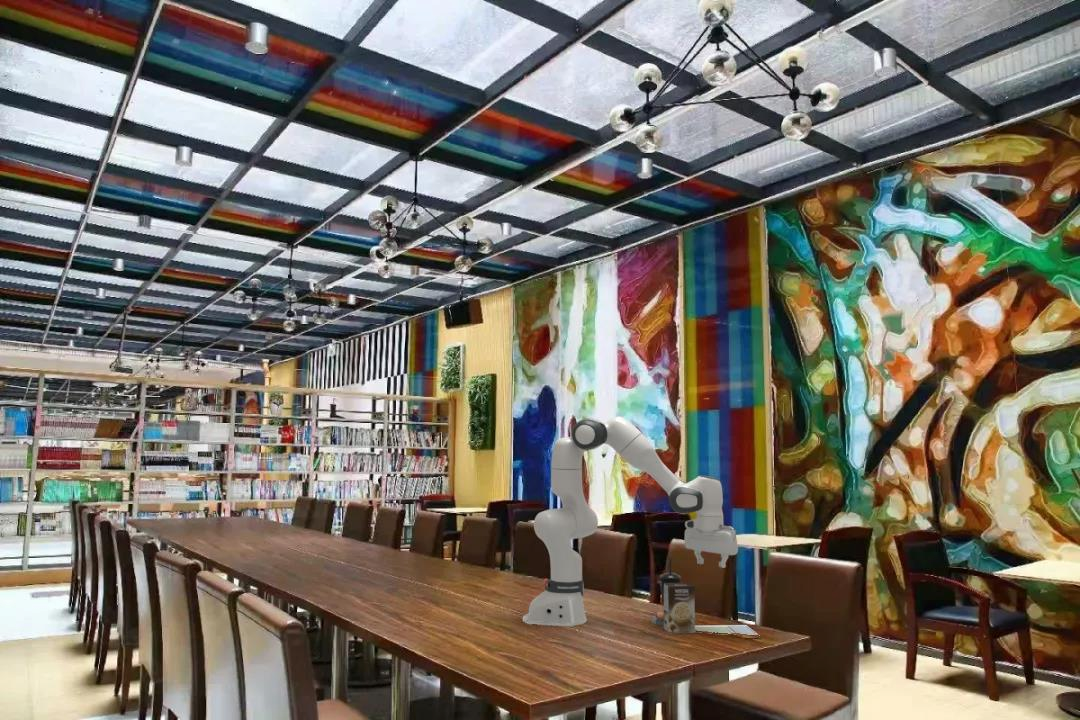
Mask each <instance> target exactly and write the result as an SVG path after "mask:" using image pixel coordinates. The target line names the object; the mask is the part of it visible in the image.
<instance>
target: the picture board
mask: <svg viewBox="0 0 1080 720" xmlns="http://www.w3.org/2000/svg"><path fill="white" fill-rule="evenodd" d="M695 630H697V631H708V632H712V633H713V632H715V633H717V632H718V633H728V634H731V633H740V634H747V635H759V634H758V633H757V632H756V631H755V630H753V629H752V628H750V627H749V626H748V624H727V625H726V624H725V625H724V624H718V625H716V624H715V625H713V624H712V625H707V624H705V625H699V624H698V625H696V624H695ZM712 633H711V634H712ZM728 634H727V635H728Z"/></svg>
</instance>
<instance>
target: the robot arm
mask: <svg viewBox="0 0 1080 720" xmlns="http://www.w3.org/2000/svg"><path fill="white" fill-rule="evenodd" d="M602 445H608V446H610V448H612V449H613V451H615V452H616V453H617V454H618V455H619V457H621V458H622V460H624V461H625V462H626V463H627V464H629V465H630V466H631V467H633V468H634V469H637V470H640V471H643V472H645V473H646V474H647V475H649V476H651V478H652V479H654V480H655V482H656V483H658V485H659V487H661V488H662V489H663V490H664V491H665V492H666V494H667V495H668V502H669V503H668V504H669V506H670V508H671V509H672V510H673V511H674V512H676V513H677V514H681V515H687V514H690V513H696V517H695V518H692V519H690V520H686V521H685V523H684V526H685V528H686V529H685V530H684V547H685V548H686V550H692V551H694V552H693V553H694V555H695V558H696V562H697V564H699V565H704V563H705V562H704V561H705V558H703V556H702V555H701V553H702V552H706V553H713V554H720V558H721V561H718V567H719V568H722V569H724V568H726V567H727V565H726V562H727V560H728V559H729V556H735V555H737V554H738V552H739V545H738V539H737V531H736V529H734V528H733V526H732V525H728V526H727V525H724V513H723V512H724V511H723V503H724V499H723V498H724V497H723V496H724V495H723V487H722V483H721V481H720V480H719V479H718V478H716V477H713V476H709V475H704V474H703V475H702V474H700V475H698V476H697V477H696V478H694V479H692V480H691V481H687V482H684V481H682V480H680V479H679V478H678V477H677V476H676V475H675V474H674V473H673V472H672V471H671V469H670V468H668V467H667V466H666V465H665V463H663V461H662V459H661V458H660V457H659V455H658V453H657V452H656V450H655V448H654V447H653V446H652V444H651V442H650V441H649V439H647V437H646V436H645V434H643V433H642V432H641V431H640V430H639V429H638V428H637V427H636V426H635V425H634V424H633V423H632V422H630V421H629V420H627V419H626V418H625V417H624V416H619V415H618V416H614V417H611V418H610V419H609V420H608V421H607V422H605V423H603V422H601V421H600V420H598V419H594V418H590V417H589V418H584V419H581V420H579V421H577V422H576V423H575V425H574V426H573V427H572V430H571V436H567V437H566V436H564V437H560V438H558V439H557V440H556V441H555V442H554V444H553V449H552V453H551V463H550V481H551V482H550V488H551V489H550V490H551V492H552V493H553V494H554V495H555V496H557V497H558V498H559V499H560V501H561V505H562V507H560V508H550V509H546V510H544V511H541V512H538V513H537V514H536V516H535V518H534V521H533V529H534V532H535V535H536V536H537V538H539V539H540V540H541V541H542V542H543V543H544V545H545V547H546V549H547V551H548V554H549V561H550V564H549V565H550V578H549V579H548V578H544V579H543V585H544V591H543V592H541V593H539V594H538V595H537V596H536V597H534V599H532V601H531V602H530V604H529V607H528V613H526V614H524V615H523V616H522V622H523V623H524V622H525V624H526V623H527V624H526V625H532V624H537V625H536V626H551V625H552V627H553V626H556V627H573V626H578V625H583V624H585V623H587V622H588V620H587V616H586V612H585V606H584V598H583V597H584V593H585V591H584V590H585V589H584V586H585V585H584V584H585V583H584V579H583V558H582V556H581V554H579V552H577V551H575V550H574V549H573V547H572V543H571V542H572V541H571V540H574V539H582V538H586V537H589V536H592V535H593V534H594V533H596V531H597V529H598V526H599V519H598V515H597V513H596V512H595V510H594V509H592V508H591V507H590V505H589V504H588V503H587V500H586V497H585V494H584V488H583V455H584V453H585V452H588V451H594V450H596V449H598V448H600V447H601V446H602Z"/></svg>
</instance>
